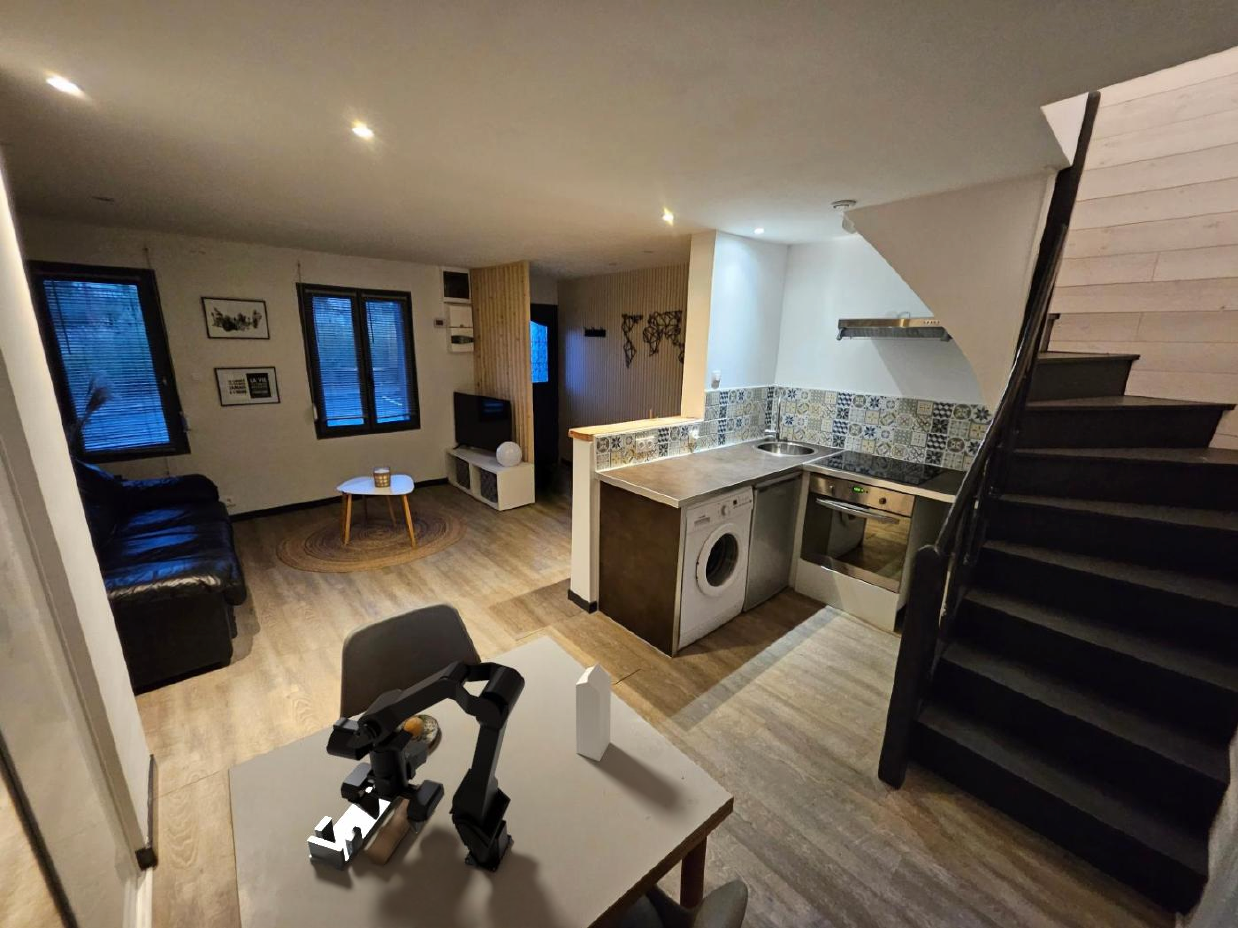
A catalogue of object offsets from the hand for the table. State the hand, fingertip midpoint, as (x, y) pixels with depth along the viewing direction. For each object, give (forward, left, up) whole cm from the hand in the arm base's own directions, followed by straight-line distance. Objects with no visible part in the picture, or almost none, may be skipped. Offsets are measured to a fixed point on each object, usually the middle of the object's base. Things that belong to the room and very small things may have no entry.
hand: (397, 823), depth 92 cm
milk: (-31, -28, -2) cm, 42 cm away
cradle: (+8, 0, -1) cm, 8 cm away
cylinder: (0, 0, -2) cm, 2 cm away
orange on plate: (+11, -19, -2) cm, 22 cm away
